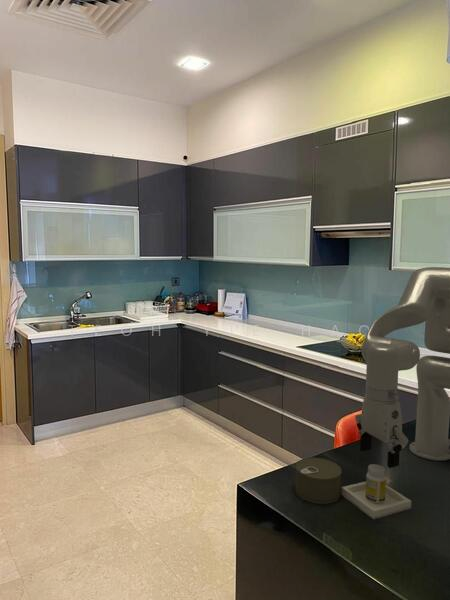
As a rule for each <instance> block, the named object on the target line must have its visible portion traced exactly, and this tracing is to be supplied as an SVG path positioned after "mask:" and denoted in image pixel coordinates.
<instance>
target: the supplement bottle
mask: <svg viewBox="0 0 450 600" xmlns="http://www.w3.org/2000/svg"><path fill="white" fill-rule="evenodd" d="M385 471H386V469H385V467H384V466H382V465H381V464H376V463H371V464H369V465H368V466H367V473H366V475H365V476H366V477H365V478H366V479H365V482H366V499H367V500H368V501H370V502H372V503H383V502H384V501H385V489H386V485H387V476H386V475H385V474H386V472H385Z"/></svg>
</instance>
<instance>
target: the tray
mask: <svg viewBox="0 0 450 600" xmlns="http://www.w3.org/2000/svg"><path fill="white" fill-rule="evenodd" d="M340 496H342V497H343V498H345V500H347V501H349V502H350V503H351V504H352V505H354V506H355V507H356V508H358V509H359V510H360V511H361V512H362V513H364V514H366V515H367V516H368V517H370V518H371V519H372V520H377V519H378V520H379V519H380V518H383V517H388V516H392V515H394V514H398V513H402V512H405V511H408V510H411V509H412V500H411V499H410V498H407V497H406V496H405V495H403V494H402V493H400V492H398V491H397V490H395V489H394V488H392V487H391V486H389V485H387V484H386V489H385V501H384V502H383V503H372V502H370V501H368V500H367V499H366V481H361V482H358V483H354V484H349V485H345V486H342V487H341V486H340Z"/></svg>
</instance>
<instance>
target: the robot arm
mask: <svg viewBox="0 0 450 600" xmlns="http://www.w3.org/2000/svg"><path fill="white" fill-rule="evenodd" d="M423 323H425V324H424V334H423V335H424V337H423V340H424V342H423V343H424V346H425V348H426V349H427V350H428V351H431V352H437V353H443V354H448V355H450V267H445V266H444V267H442V266H441V267H438V266H432V267H431V266H429V267H422V268H418V269H416V270H414V271H413V272H412V273H411V275H410V277H409V279H408V281H407V283H406V286H405V288H404V290H403V292H402V295H401V296H400V299H399V301H398V303H397V305H396V306H394V307H392V308H390V309H389V310H387V311H385V312H384V313H383V314H381V315H380V316H378V317H377V318H376V319H374V321H373V322H372V323H371V325H370V326H369V328H368V329H367V333H366V335H365V336H364V339H363V341H362V345H361V356H362V358H363V360H364V361H366V369H365V370H366V371H365V373H366V374H365V375H366V377H365V394H364V396H363V402H362V405H361V406H362V407H361V413H359V414H355V415H354V418H355V421H356V427H357V430H358V435H359V436H360V446H359V450H360V451H361V452H365V451H370V450H371V449H372V436H373V437H375V438H376V439H378V440H380V441H382V442H383V443H386V445H387V447H388V450H389V451H388V452H387V462H386V463H387V465H386V466H387V468H389V469H392V468H396V467H399V466H400V452H402V451H403V450H404V449H406V447H407V445H408V443H409V439H408V437H407V436H406V435H405V434H404V433H403V418H402V417H403V416H402V409H401V404H400V401H398V400H399V399H400V396H399V395H398V388H399V383H398V382H399V372H400V371H408V370H411V369H413V368H415V367H416V379H417V405H416V420H415V421H416V422H415V438H414V441H413V442H411V443H410V444H409V450H410V453H412V454H414V455H415V456H417V457H420V458H423V459H426V460H431V461H438V462H439V461H441V462H442V461H448V460H450V438H449V433H450V432H449V428H450V396H449V394H448V393H447V391H446V390H447V389H448V390H450V357H445V356H439V355H424V356H422V357H421V352H420V351H421V350H420V348H419V346H418V345H417V344H416V343H415V342H413V341H410V340H406V339H405V340H404V339H398V338H392V337H387V335H389V334H391V333H393V332H394V331H398V330H400V329H401V330H402V329H405V328H409V327H413V326H416V325H421V324H423ZM393 443H394V445H393Z"/></svg>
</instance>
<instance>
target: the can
mask: <svg viewBox="0 0 450 600" xmlns="http://www.w3.org/2000/svg"><path fill="white" fill-rule="evenodd" d="M294 468H295V494H296V495H297V496H298V497H299V498H300V499H302V500H304V501H306V502H309V503H312V504H317V505H318V504H319V505H327V504H332V503H335V502H337V501H338V500H339V499H340V496H341V479H342V473H343V471H342V468H341V466H340V465H339V464H337V463H336V462H334V461H333V460H330V459H327V458H321V457H305V458H301V459H299V460H298V461H296V463H295V467H294Z"/></svg>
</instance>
